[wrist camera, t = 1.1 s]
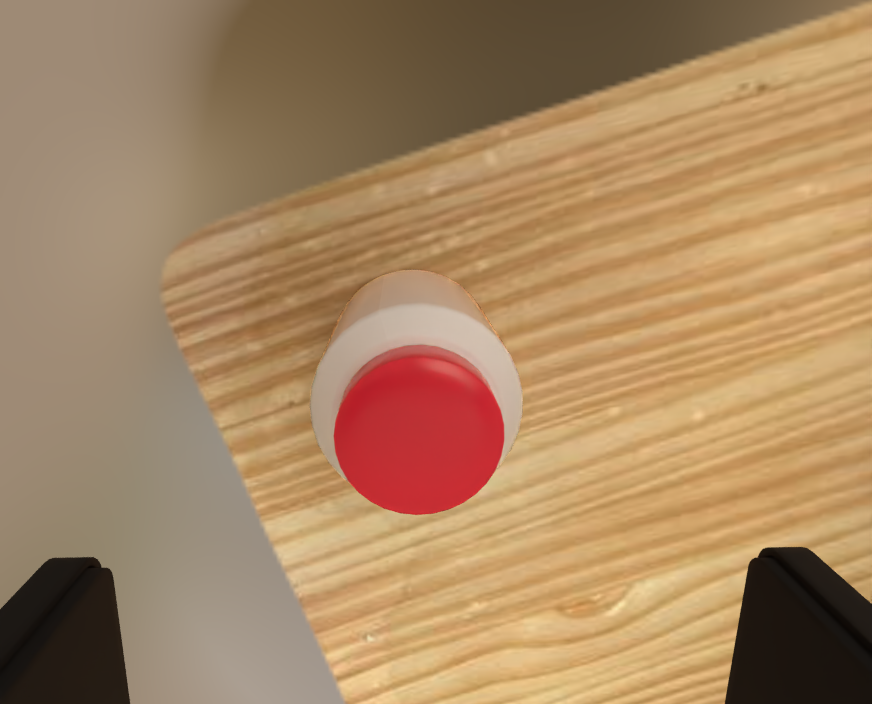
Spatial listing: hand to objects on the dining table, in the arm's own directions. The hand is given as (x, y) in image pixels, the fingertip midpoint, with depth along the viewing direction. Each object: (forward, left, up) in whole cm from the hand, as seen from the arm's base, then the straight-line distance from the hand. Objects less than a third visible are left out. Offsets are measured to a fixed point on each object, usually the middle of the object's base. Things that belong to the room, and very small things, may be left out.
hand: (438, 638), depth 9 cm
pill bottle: (0, 0, -15) cm, 15 cm away
